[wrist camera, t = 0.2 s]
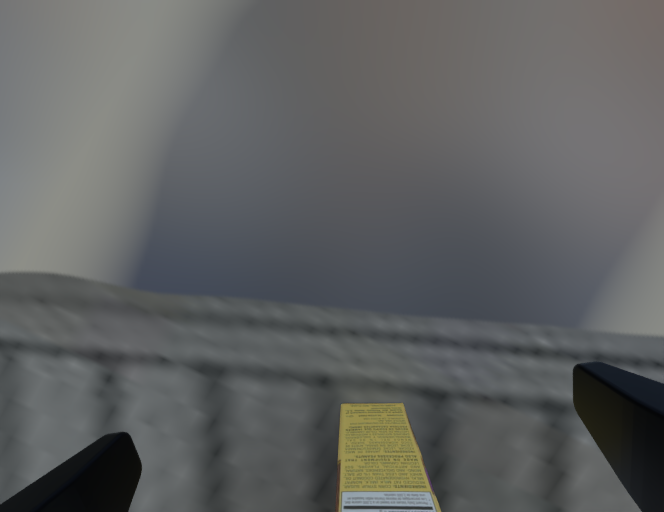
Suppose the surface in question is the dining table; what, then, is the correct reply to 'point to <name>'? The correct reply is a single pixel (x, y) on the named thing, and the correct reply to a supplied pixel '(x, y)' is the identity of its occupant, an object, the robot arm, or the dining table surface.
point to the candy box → (380, 462)
